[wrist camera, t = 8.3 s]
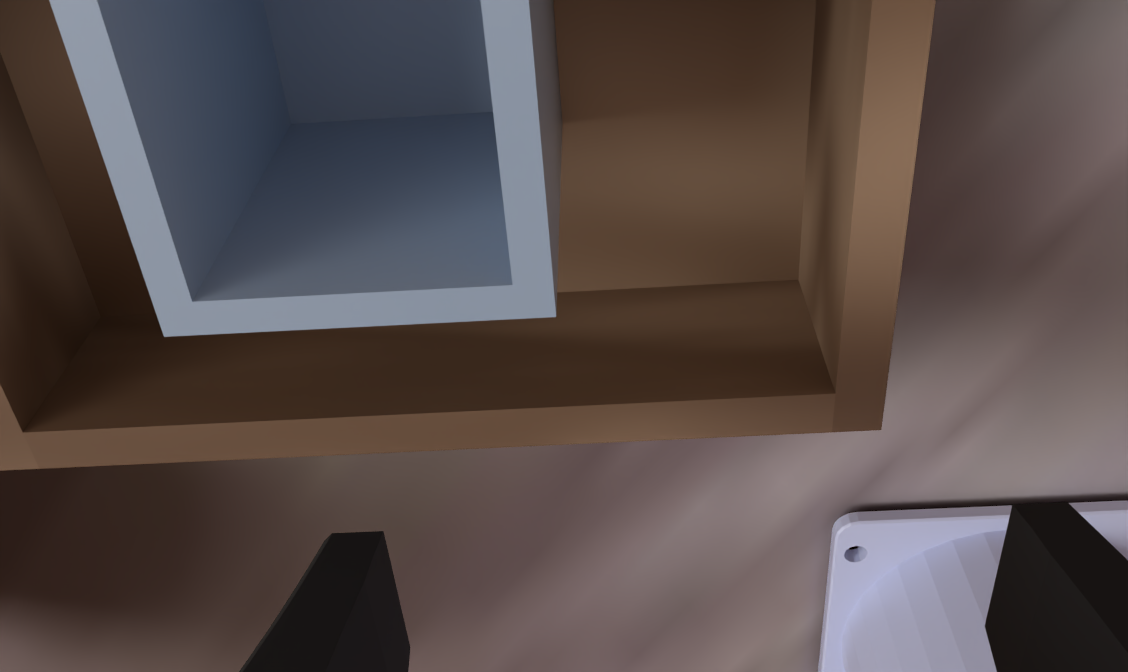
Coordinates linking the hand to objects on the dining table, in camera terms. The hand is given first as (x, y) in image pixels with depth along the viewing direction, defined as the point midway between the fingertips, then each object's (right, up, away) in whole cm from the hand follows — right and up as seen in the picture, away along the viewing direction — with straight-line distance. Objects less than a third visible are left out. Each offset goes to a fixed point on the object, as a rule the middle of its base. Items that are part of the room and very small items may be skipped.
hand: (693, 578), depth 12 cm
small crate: (-4, +10, +4) cm, 11 cm away
